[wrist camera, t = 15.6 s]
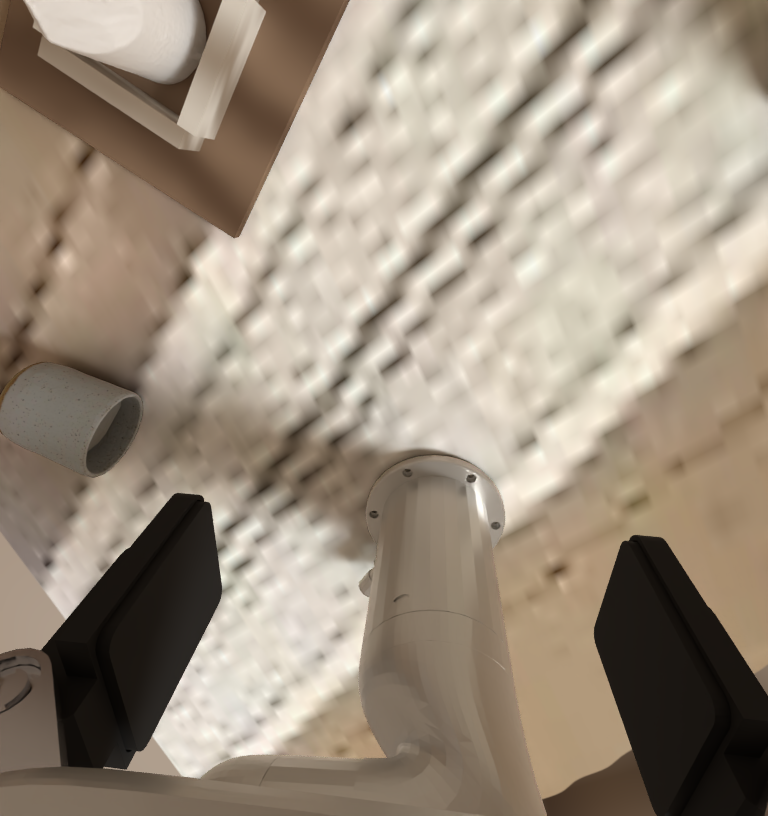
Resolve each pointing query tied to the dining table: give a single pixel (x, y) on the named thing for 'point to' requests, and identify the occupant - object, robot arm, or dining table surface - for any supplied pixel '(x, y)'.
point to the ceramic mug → (70, 417)
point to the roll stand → (185, 100)
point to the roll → (128, 33)
